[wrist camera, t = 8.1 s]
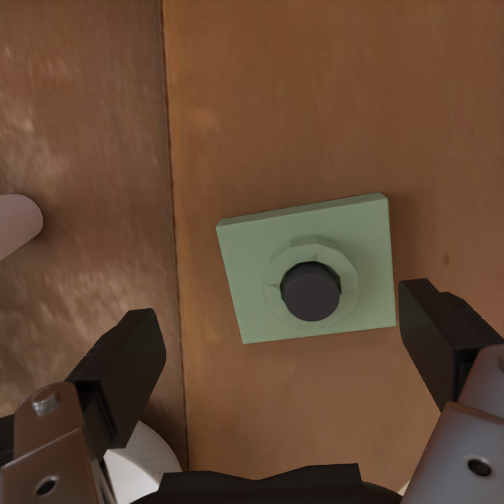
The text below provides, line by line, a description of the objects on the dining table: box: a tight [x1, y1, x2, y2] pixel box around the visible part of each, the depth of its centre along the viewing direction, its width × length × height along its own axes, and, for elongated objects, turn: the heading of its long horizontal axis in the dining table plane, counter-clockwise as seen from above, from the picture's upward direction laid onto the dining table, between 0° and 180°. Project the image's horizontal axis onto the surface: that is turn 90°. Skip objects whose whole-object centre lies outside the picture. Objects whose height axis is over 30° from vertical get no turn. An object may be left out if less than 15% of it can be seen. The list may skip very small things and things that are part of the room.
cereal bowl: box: [104, 421, 182, 504], centre depth 34 cm, size 17×17×7 cm
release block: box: [216, 192, 396, 344], centre depth 26 cm, size 12×10×4 cm
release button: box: [284, 263, 340, 322], centre depth 24 cm, size 4×4×2 cm
